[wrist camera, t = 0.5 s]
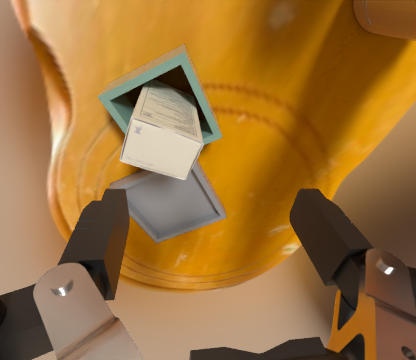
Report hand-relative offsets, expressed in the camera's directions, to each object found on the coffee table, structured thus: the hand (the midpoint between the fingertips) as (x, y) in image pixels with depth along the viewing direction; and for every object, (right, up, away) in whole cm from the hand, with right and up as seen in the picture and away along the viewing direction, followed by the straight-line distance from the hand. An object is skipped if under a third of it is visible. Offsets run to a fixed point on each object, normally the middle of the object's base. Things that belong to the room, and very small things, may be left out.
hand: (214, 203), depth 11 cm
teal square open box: (-5, +11, +18) cm, 22 cm away
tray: (-6, -2, +28) cm, 28 cm away
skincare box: (-5, +11, +18) cm, 22 cm away
